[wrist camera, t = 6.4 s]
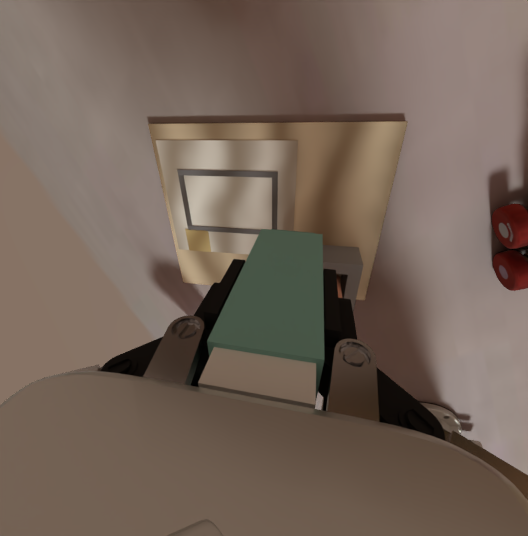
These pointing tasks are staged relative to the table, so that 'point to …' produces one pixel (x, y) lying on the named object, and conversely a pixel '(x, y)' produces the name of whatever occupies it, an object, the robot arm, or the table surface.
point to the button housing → (345, 268)
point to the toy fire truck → (511, 246)
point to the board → (274, 187)
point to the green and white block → (272, 323)
